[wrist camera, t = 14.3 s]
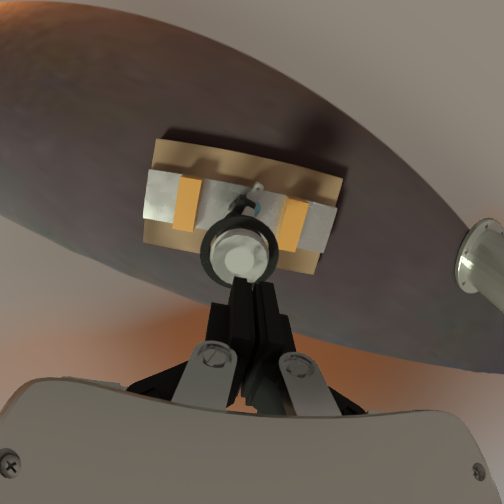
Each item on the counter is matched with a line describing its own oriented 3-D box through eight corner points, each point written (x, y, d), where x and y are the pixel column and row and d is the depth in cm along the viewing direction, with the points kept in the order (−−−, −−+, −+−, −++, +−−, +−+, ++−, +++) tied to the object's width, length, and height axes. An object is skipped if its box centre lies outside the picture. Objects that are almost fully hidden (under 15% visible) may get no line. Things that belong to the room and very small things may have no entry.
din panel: (338, 176, 28) (343, 179, 27) (310, 268, 32) (313, 274, 31) (160, 138, 26) (156, 138, 24) (146, 237, 30) (142, 242, 28)
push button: (235, 169, 25) (233, 186, 16) (284, 196, 27) (308, 229, 17) (202, 228, 27) (184, 275, 18) (249, 252, 29) (254, 308, 19)
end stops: (305, 200, 27) (309, 203, 25) (292, 246, 29) (295, 252, 27) (183, 174, 25) (180, 176, 24) (175, 223, 27) (172, 228, 26)
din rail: (335, 206, 28) (337, 208, 27) (321, 250, 30) (323, 253, 29) (151, 168, 26) (149, 169, 25) (145, 215, 27) (142, 217, 27)
